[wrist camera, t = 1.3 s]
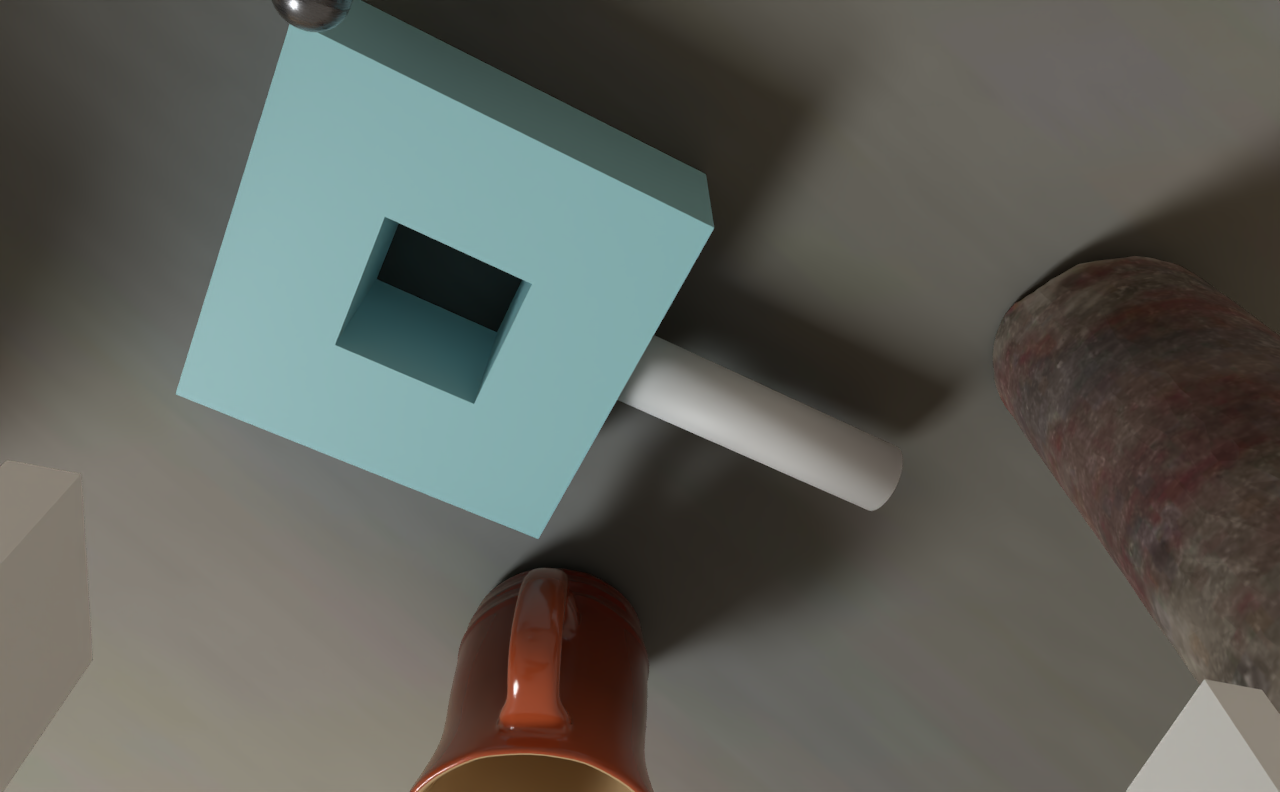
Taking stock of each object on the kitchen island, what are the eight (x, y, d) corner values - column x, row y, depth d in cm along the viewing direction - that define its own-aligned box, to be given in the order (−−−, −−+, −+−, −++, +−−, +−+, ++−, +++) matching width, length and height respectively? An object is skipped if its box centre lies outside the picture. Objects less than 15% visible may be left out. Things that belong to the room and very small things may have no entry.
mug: (658, 705, 43) (659, 931, 34) (457, 696, 43) (406, 921, 34) (676, 477, 37) (683, 678, 28) (444, 466, 37) (377, 664, 28)
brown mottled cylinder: (1166, 194, 32) (1798, 630, 14) (1246, 359, 34) (1855, 892, 17) (951, 321, 34) (1267, 831, 16) (1043, 466, 37) (1397, 1032, 19)
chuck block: (236, 323, 34) (175, 394, 30) (345, -8, 29) (290, 19, 25) (783, 553, 39) (799, 643, 34) (964, 304, 34) (1011, 374, 29)
